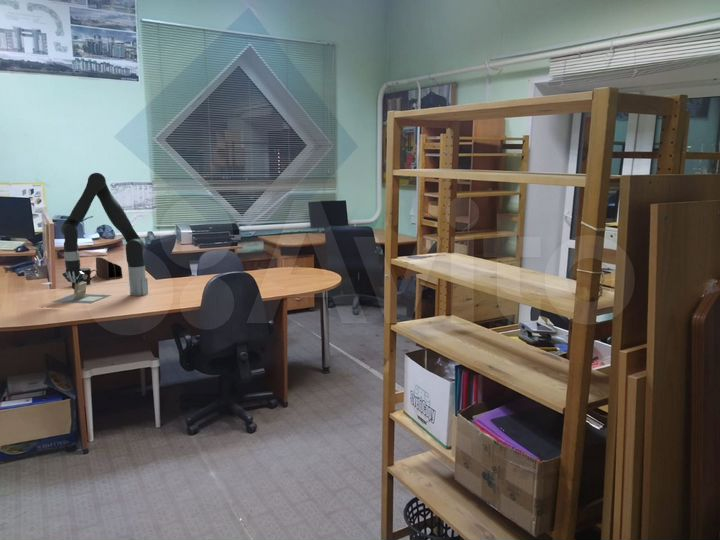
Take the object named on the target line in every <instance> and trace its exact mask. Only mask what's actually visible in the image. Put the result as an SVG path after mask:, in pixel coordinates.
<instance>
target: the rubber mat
mask: <svg viewBox="0 0 720 540" xmlns="http://www.w3.org/2000/svg"><path fill="white" fill-rule="evenodd" d="M110 296H112V295H111V294H91V293H89V294H88V293H85V297H84V298H81V299H78V300H76V299H73V297H74V293H73V294H70V295H67V296H64V297H62V298H58V299H55V300H53V301H51V303H63V304H64V303H65V304H67V303H69V304H95V302H98V301H101V300H104V299H106V298H109V297H110Z"/></svg>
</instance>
